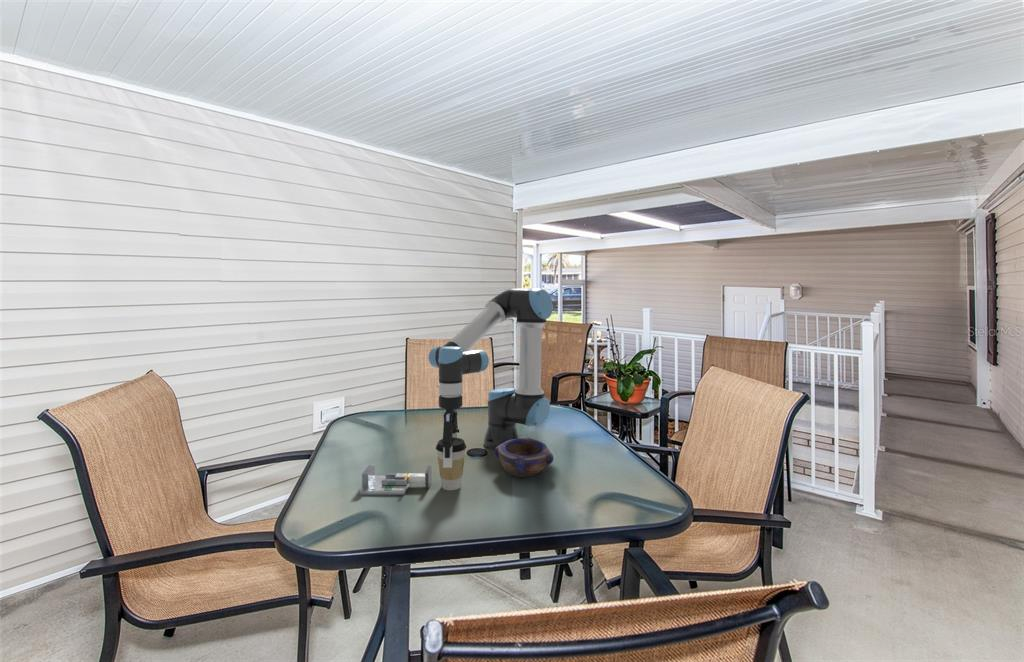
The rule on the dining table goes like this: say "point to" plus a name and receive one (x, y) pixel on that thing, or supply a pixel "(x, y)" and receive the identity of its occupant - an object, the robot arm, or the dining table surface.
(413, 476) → the plunger
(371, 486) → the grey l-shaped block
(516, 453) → the bowl
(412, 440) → the dining table surface
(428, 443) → the dining table surface
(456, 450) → the coffee cup
